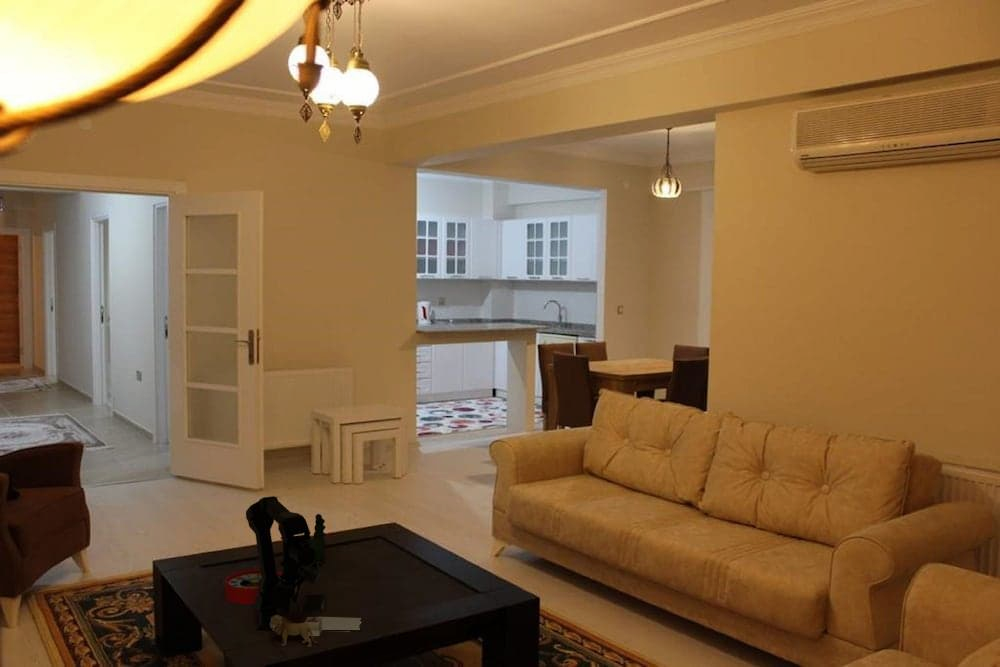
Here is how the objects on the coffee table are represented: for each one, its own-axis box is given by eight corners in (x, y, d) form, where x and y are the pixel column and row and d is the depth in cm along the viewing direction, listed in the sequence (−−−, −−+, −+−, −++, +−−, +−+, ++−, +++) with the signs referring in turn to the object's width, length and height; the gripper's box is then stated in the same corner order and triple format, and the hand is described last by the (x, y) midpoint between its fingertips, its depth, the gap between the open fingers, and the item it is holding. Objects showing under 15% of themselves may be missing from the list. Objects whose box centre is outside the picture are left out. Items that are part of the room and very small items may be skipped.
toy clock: (257, 592, 290) (212, 582, 299) (257, 609, 290) (212, 598, 299) (296, 575, 308) (252, 566, 317) (295, 591, 308) (252, 581, 317)
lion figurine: (267, 647, 260) (268, 618, 260) (271, 640, 265) (272, 611, 265) (317, 648, 261) (317, 619, 261) (319, 640, 266) (320, 612, 266)
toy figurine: (307, 558, 350) (294, 573, 325) (309, 511, 351) (296, 522, 326) (330, 558, 350) (319, 573, 325) (332, 512, 351) (321, 523, 326)
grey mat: (318, 618, 284) (318, 616, 284) (366, 619, 284) (366, 618, 284) (311, 630, 274) (311, 628, 274) (361, 631, 274) (361, 630, 274)
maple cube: (307, 630, 274) (307, 616, 274) (321, 631, 274) (321, 616, 274) (304, 636, 269) (304, 621, 269) (318, 637, 269) (318, 622, 269)
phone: (326, 594, 304) (323, 610, 289) (326, 597, 304) (323, 613, 289) (304, 594, 303) (299, 610, 288) (303, 597, 303) (299, 614, 288)
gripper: (311, 567, 252) (310, 620, 253) (324, 548, 271) (323, 597, 272) (273, 566, 252) (272, 619, 253) (289, 547, 271) (288, 596, 272)
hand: (291, 607), depth 262 cm, fingers open, 9 cm apart
